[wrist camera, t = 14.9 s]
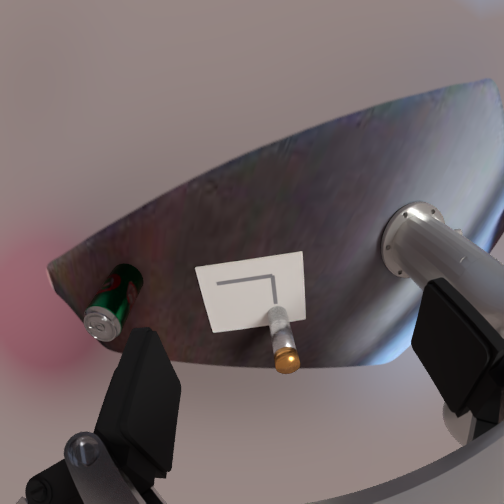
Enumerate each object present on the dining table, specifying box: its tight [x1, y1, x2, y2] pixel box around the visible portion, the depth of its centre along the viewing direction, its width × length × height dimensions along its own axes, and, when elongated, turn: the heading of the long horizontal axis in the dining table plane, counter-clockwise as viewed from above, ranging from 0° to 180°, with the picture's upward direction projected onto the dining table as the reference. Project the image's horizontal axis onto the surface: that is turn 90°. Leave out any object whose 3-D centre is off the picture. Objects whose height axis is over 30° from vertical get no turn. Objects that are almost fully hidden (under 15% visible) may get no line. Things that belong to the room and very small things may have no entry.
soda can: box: [84, 264, 143, 342], centre depth 34 cm, size 5×5×12 cm
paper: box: [195, 251, 306, 333], centre depth 42 cm, size 15×12×1 cm
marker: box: [267, 306, 300, 374], centre depth 38 cm, size 3×3×11 cm
